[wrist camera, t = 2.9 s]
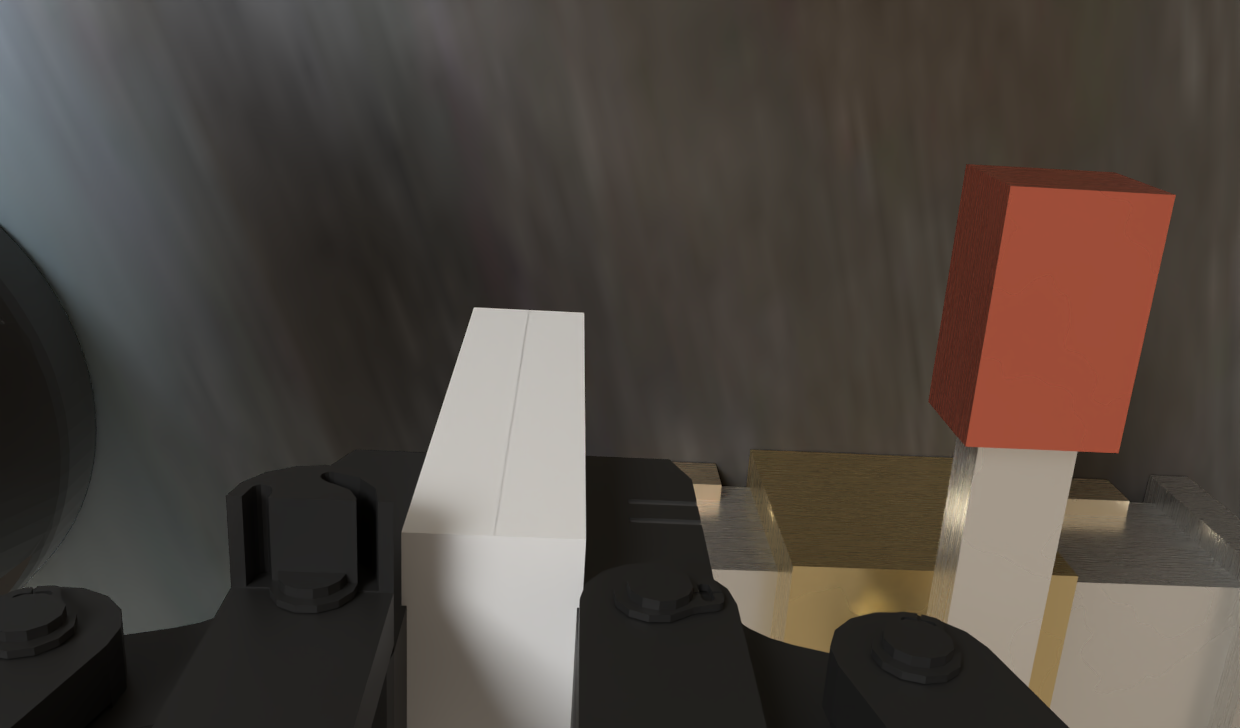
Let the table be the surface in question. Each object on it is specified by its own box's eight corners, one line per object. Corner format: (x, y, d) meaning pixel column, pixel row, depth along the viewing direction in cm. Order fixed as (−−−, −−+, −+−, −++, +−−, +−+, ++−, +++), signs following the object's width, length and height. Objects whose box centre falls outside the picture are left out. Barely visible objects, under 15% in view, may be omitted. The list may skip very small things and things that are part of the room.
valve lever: (992, 797, 27) (1029, 872, 25) (861, 794, 27) (888, 869, 25) (1119, 173, 22) (1180, 195, 20) (961, 163, 22) (1005, 185, 20)
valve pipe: (524, 645, 36) (508, 850, 27) (531, 440, 33) (517, 596, 25) (1142, 664, 37) (1307, 867, 28) (1190, 467, 34) (1386, 625, 26)
